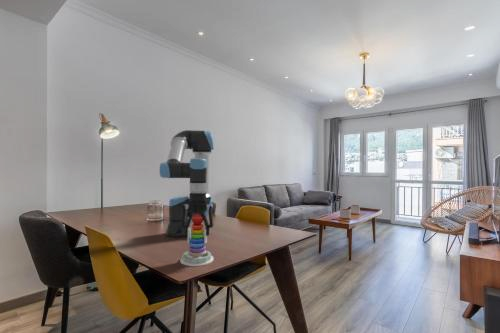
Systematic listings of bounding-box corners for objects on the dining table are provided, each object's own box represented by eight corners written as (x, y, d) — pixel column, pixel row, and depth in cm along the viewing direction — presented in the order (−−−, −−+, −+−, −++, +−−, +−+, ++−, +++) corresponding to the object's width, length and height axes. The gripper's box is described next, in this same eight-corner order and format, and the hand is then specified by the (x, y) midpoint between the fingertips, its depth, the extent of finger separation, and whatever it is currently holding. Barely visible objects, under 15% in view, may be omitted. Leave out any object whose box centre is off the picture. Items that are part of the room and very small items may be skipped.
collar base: (172, 261, 118) (172, 256, 118) (195, 252, 131) (195, 247, 131) (198, 268, 110) (198, 262, 110) (220, 258, 123) (220, 252, 123)
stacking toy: (185, 253, 122) (186, 213, 121) (202, 250, 126) (202, 211, 126) (192, 258, 115) (192, 215, 115) (209, 255, 119) (209, 214, 119)
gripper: (173, 192, 117) (173, 244, 117) (218, 193, 116) (217, 245, 117) (178, 191, 124) (178, 239, 124) (220, 191, 124) (220, 240, 124)
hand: (197, 242), depth 120 cm, fingers closed on stacking toy, 7 cm apart
